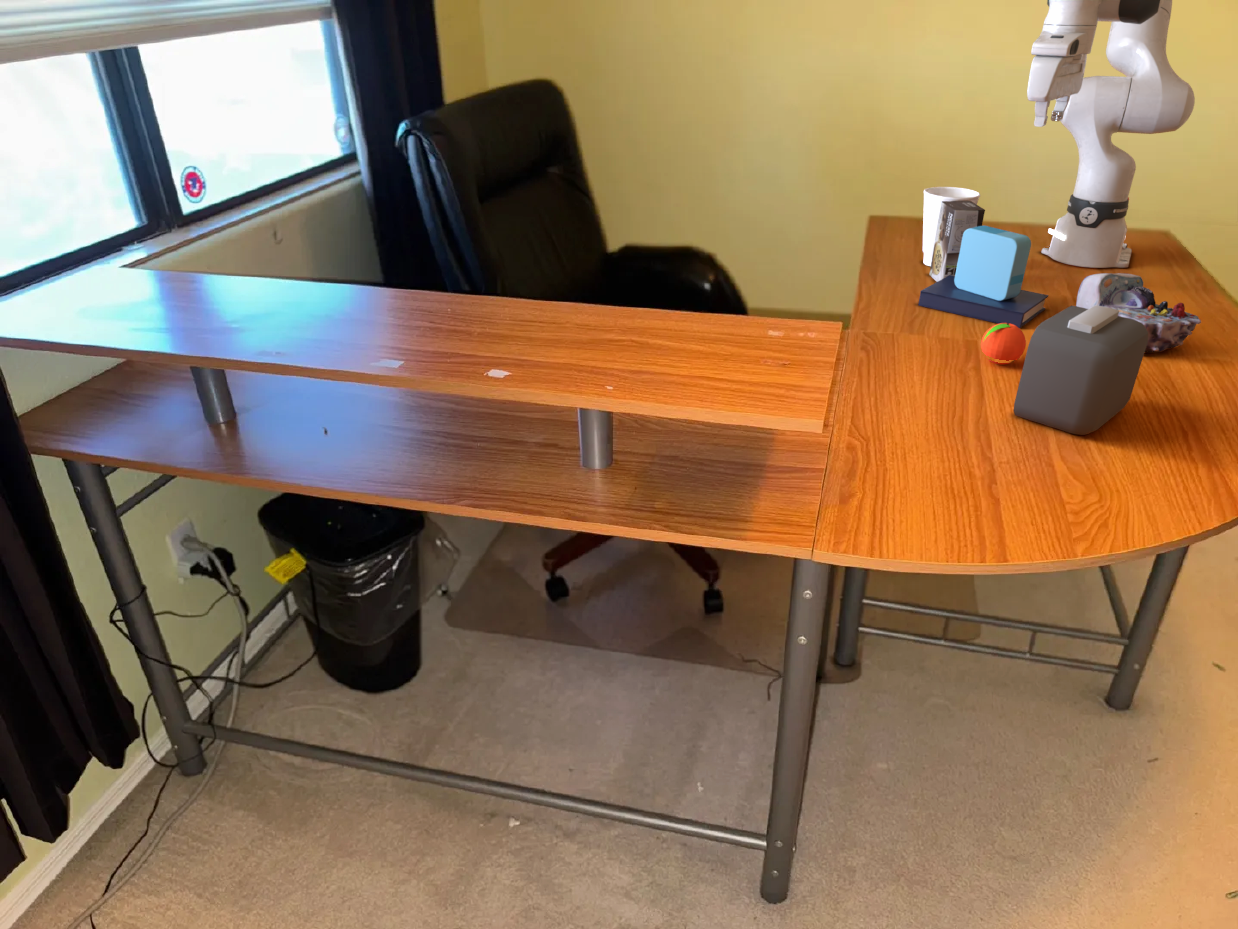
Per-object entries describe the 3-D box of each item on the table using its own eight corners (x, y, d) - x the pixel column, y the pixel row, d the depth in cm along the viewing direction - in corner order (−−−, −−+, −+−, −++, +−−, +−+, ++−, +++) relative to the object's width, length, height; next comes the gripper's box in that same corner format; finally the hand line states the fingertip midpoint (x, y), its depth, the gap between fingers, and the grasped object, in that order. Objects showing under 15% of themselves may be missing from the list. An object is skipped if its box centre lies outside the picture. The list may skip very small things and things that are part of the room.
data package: (1019, 299, 170) (1033, 236, 164) (1004, 303, 167) (1018, 240, 162) (966, 283, 178) (978, 223, 173) (952, 286, 176) (963, 226, 170)
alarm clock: (1055, 389, 140) (1080, 294, 132) (1131, 411, 133) (1162, 312, 125) (1010, 420, 130) (1034, 319, 122) (1089, 446, 123) (1120, 340, 115)
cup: (908, 255, 207) (919, 185, 199) (960, 257, 206) (974, 187, 198) (916, 269, 197) (928, 196, 189) (971, 272, 195) (986, 198, 188)
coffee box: (971, 287, 186) (986, 209, 178) (940, 287, 186) (954, 209, 178) (957, 274, 194) (971, 199, 186) (928, 274, 194) (941, 199, 186)
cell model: (1121, 261, 164) (1221, 294, 148) (1104, 316, 170) (1199, 354, 154) (1069, 269, 160) (1168, 304, 144) (1054, 325, 165) (1147, 365, 149)
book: (946, 288, 185) (949, 274, 183) (1045, 309, 173) (1048, 295, 172) (918, 305, 176) (920, 290, 174) (1020, 328, 164) (1023, 313, 163)
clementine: (992, 374, 145) (1001, 333, 142) (963, 359, 151) (971, 319, 147) (1030, 367, 148) (1039, 327, 144) (1000, 353, 153) (1008, 314, 150)
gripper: (1065, 39, 168) (1048, 116, 175) (1029, 44, 155) (1012, 127, 162) (1101, 40, 165) (1082, 119, 171) (1066, 45, 151) (1047, 131, 158)
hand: (1047, 123), depth 166 cm, fingers open, 8 cm apart
